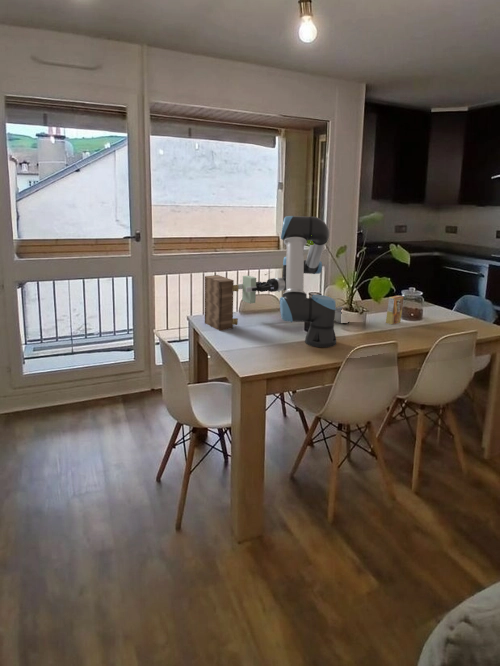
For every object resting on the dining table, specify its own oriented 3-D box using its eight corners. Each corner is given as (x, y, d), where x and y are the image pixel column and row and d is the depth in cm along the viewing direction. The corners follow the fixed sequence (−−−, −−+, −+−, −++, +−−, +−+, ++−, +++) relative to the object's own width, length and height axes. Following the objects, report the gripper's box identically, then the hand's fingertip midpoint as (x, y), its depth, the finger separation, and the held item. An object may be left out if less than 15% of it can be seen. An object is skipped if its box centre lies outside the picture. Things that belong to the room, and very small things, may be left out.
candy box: (394, 320, 284) (397, 295, 280) (400, 322, 281) (404, 296, 276) (385, 323, 279) (388, 297, 274) (391, 325, 276) (394, 298, 271)
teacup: (353, 325, 272) (355, 311, 270) (334, 324, 272) (335, 310, 270) (349, 318, 286) (350, 305, 283) (331, 318, 286) (332, 304, 283)
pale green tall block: (256, 302, 270) (257, 277, 266) (250, 303, 268) (250, 278, 264) (248, 299, 276) (249, 275, 272) (242, 300, 274) (242, 275, 270)
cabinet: (237, 329, 259) (239, 280, 251) (221, 331, 253) (222, 282, 246) (220, 320, 273) (221, 274, 265) (204, 323, 268) (204, 276, 260)
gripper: (286, 294, 272) (252, 298, 260) (264, 288, 288) (231, 291, 276) (286, 281, 270) (252, 284, 258) (264, 275, 286) (231, 278, 274)
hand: (241, 288), depth 267 cm, fingers closed on pale green tall block, 8 cm apart
